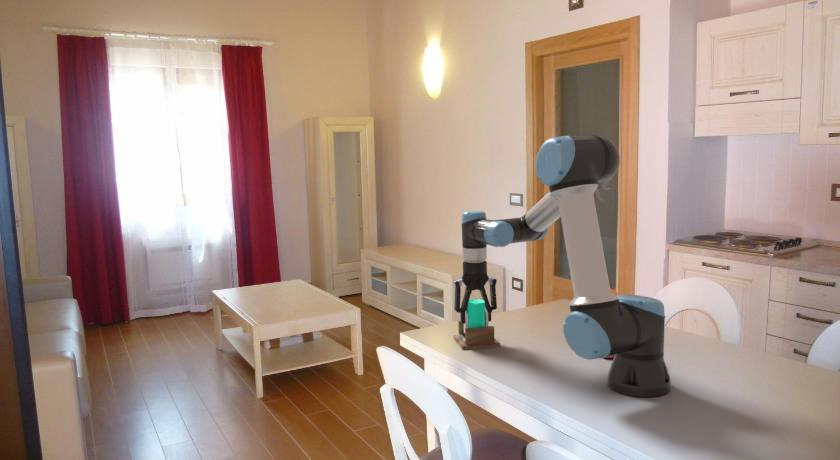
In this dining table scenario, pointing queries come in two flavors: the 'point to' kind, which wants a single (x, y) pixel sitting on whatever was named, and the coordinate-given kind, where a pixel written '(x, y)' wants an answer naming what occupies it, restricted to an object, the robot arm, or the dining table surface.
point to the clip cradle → (476, 337)
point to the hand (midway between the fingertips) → (476, 332)
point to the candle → (476, 313)
